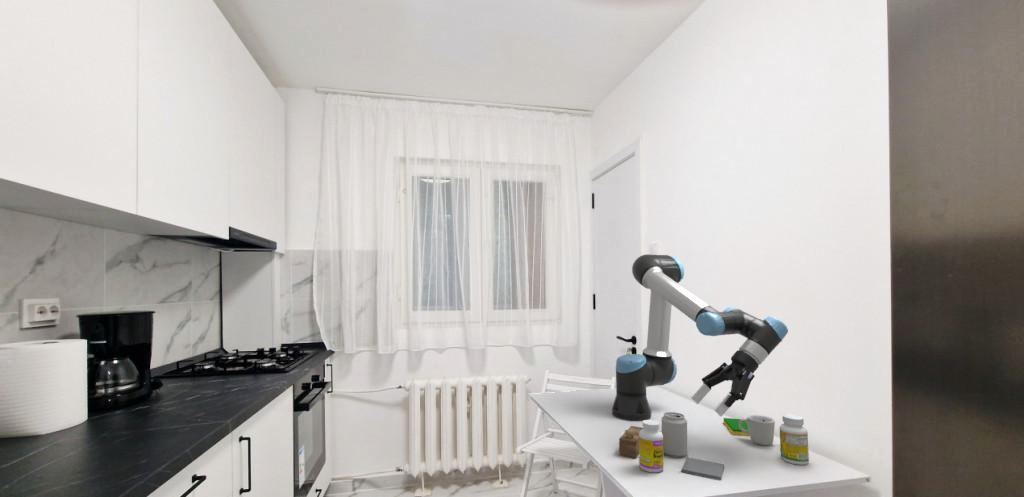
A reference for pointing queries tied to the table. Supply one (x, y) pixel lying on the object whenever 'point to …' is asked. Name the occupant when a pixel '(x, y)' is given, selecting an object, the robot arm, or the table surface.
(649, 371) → the robot arm
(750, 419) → the cup
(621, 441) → the walnut block
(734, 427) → the dish sponge
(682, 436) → the can
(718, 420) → the table surface
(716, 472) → the trivet
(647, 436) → the supplement bottle
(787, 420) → the supplement bottle
